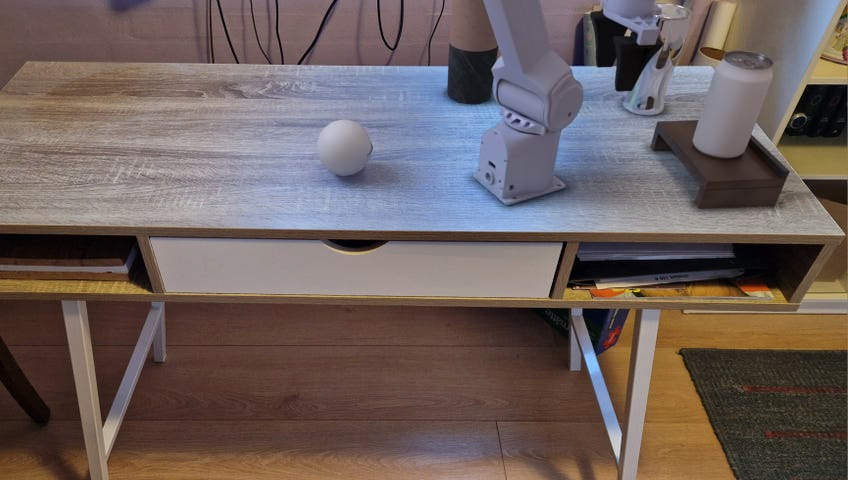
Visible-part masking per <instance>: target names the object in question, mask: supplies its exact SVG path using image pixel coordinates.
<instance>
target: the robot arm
mask: <svg viewBox="0 0 848 480" xmlns="http://www.w3.org/2000/svg"><path fill="white" fill-rule="evenodd" d="M483 2H484V5H485V8H486V11H487V14H488V17H489V20H490V23H491V26H492V29H493V32H494V35H495V38H496V41H497V44H498V51H499V52H500V56H499V57H497V60H496V63H495V64H494V66H493V67H492V69H491V70H492V73H493V77H494V80H493V88H492V92H493V98H494V101H495V103H496V104H497V105H499V106H500V111H499V115H500V116H502V119H501V120H500V121H499V122H498V123H497V124H495V125H494V126H492V127H490V128H488V129H486V130H485V131H484V132H483V133H482V136H481V139H480V147H479V154H478V155H479V156H478V164H477V165H478V166H477V172H474V173H473V178H474V179H475V180H476V181H478V182H479V183H480V184H481V185H482V186H483V187H484V188H486V190H488V191H489V192H490V193H492V195H494V196H495V197H496V198H497V199H499V200H500V201H501V202H502V203H503V204H504V205H507V206H509V205H514V204H517V203H520V202H523V201H527V200H530V199H533V198H536V197H541V196H543V195H547V194H550V193H554V192H557V191H560V190H563V189H566V187H567V185H566V183H565V182H564V181H562V180H561V179H560V178H559V177H557V176H555V175H554V171H555V166H556V162H557V157H558V156H557V155H558V151H559V146H560V145H559V144H560V139H561V134H562V131H563V130H564V129H566V128H567V127H568V126H570V125H571V124H572V123H573V122H574V121H575V119H576V118H577V117H578V115H579V113H580V111H581V109H582V107H583V103H584V87H583V85H582V83H581V82H580V81H579V80H578V79H576V77H575V76H574V73H573V69H572V67H571V66H570V64H568V63H567V62H566V61H565V60H564V59H563V58H561V57H560V55H559V54H557V53H556V52H555V50H554V49H553V46H552V44H551V39H550V35H549V32H548V27H547V23H546V20H545V16H544V12H543V8H542V4H541V0H483ZM655 3H656V0H600V1H599V5H600V6H601V7H602V8H601V10H592V11H591V12H589V13H590V14H589V17H590V21H591V24H592V27H593V34H594V42H595V43H594V44H595V65H596V68H598V69H600V68H613V66H614V64H615V62H616V68H615V76H614V90H615V91H616V92H628V91H632V90H633V88H634V86H635V84H636V83H637V81H638V79H639V77H640V75H641V73H642V71H643V70H644V68H645V67H646V65H647V64H648V62H649V61H650V60H651V58H652V57H653V56H654V55H655V54H656V53H657V52H658V51H659V50H660V49H661V48H662V44H663V42H662V41H661V40H660V39H659V38H657V36H658V32H659V28H658V27H657V26H656V22H655V16H657V15H661V13H662V9H661V8H660V7H659V6H657V5H655ZM628 30H629V31H630V34H629V35H626V34H627V31H628Z"/></svg>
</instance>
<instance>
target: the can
mask: <svg viewBox="0 0 848 480" xmlns="http://www.w3.org/2000/svg"><path fill="white" fill-rule="evenodd" d="M722 55H723V56H722V59H721V60H720V61H719V62H718V63H717V65H716V66H715V69H714V71H713V75H712V78H711V80H710V83H709V87H708V90H707V93H706V97H705V100H704V102H703V106H702V109H701V112H700V115H699V117H698V120H699V121H698V124H697V127H696V131H695V134H694V137H693V144H694V146H695V148H696V149H697V150H698V151H700V152H701V153H703V154H705V155H708V156H711V157H715V158H721V159H731V158H736V157H738V156H740V155H741V154H743V153H744V152H745V150H746V147H747V145H748V142H749V139H750V137H751V134H752V135H753V131H754V130H755V129H754V128H755V126H756V123H757V121H758V118H759V115H760V113H761V110H762V107H763V105H764V103H765V100H766V97H767V94H768V92H769V89H770V86H771V83H772V80H773V77H774V73H773V67H774V63H775V62H774V60H773V59H772V58H771V57H769V56H768V55H765V54H763V53H760V52H757V51H751V50H742V49H741V50H739V49H736V50H730V51H727V52H725V53H724V54H722Z"/></svg>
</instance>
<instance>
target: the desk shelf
mask: <svg viewBox="0 0 848 480" xmlns="http://www.w3.org/2000/svg"><path fill="white" fill-rule="evenodd" d="M698 121H699V119H691V120H690V119H689V120H688V119H687V120H662V121H661V120H660V121H656V125H655V129H654V132H653V135H652V139H651V143H650V148H651V150H652V151H653V152H655V151H673V152H674V154H675V155H676V157H678V159H679V160H680V161H681V163H683V164H684V166H685V167H686V168H687V169H688V171H689V172H690V173H691V174H692V175H693V177H694V178H695V179H696V180H697V181H698V183H699V184H700V187H699V189H698V190H699V191H698V193H697V195H696V199H695V202H694V204H695V206H696V208H697V209H698V210H699V209H717V208H718V209H723V208H724V209H725V208H742V207H743V208H746V207H766V206H767V207H770V206H776V205H777V203H778V200H779V198H780V195H781V194H782V193H781V192H782V191H783V188H784V186H785V184H786V181H787V179H788V177H789V175H790V172H791V171H790V170H789V168H787V167H786V166H785V164H783V163H782V162H781V161H780V160H779V159H778V158H777V157H776V156H775V155H774V154H773V153H772V152H771V151H770V150H768V148H767V147H765V146H764V144H762V143H761V142H760V141H759V140H758V139H757V138H756V137H755V136H754V135H753V133H752V134H751V137H750V139H749V142H748V145H747V147H746V150H745V152H744V153H743V154H741V155H740V156H738V157H736V158H731V159H721V158H715V157H711V156H708V155H705V154H703V153H701V152H700V151H698V150H697V149H696V148H695V146H694V144H693V137H694V134H695V131H696V127H697V124H698Z"/></svg>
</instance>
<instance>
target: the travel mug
mask: <svg viewBox="0 0 848 480" xmlns="http://www.w3.org/2000/svg"><path fill="white" fill-rule="evenodd" d="M451 2H452V3H451V16H450V25H449V26H450V27H449V37H448V38H449V39H448V62H447V63H448V64H447V85H446V86H447V90H446V91H447V92H446V93H447V96H448V98H449V99H450V100H451V101H454V102H455V103H456V102H457V103H460V104H465V105H466V104H467V105H475V104H476V105H479V104H483V103H485V102H487V101H489V100H491V99H490V98H491V97H492V92H493V88H494V77H493V73H492V70H491V69H492V67H493V66H494V64H495V63H496V61H497V60H498V53H499V47H498V44H497V41H496V38H495V35H494V32H493V29H492V26H491V23H490V20H489V17H488V14H487V11H486V8H485V5H484V2H483V0H452V1H451Z"/></svg>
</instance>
